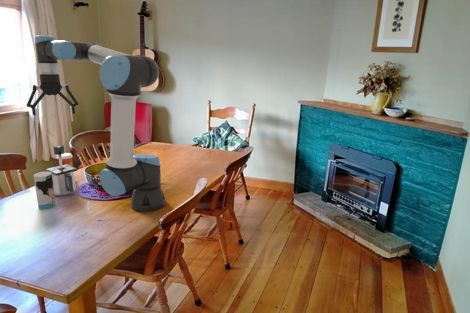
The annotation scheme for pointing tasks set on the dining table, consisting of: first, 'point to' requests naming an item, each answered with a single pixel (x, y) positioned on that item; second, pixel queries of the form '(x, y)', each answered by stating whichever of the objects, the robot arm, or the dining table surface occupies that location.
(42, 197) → the cup
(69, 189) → the lidded canister
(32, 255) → the dining table surface
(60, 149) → the plunger
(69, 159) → the paper cup
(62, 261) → the dining table surface
